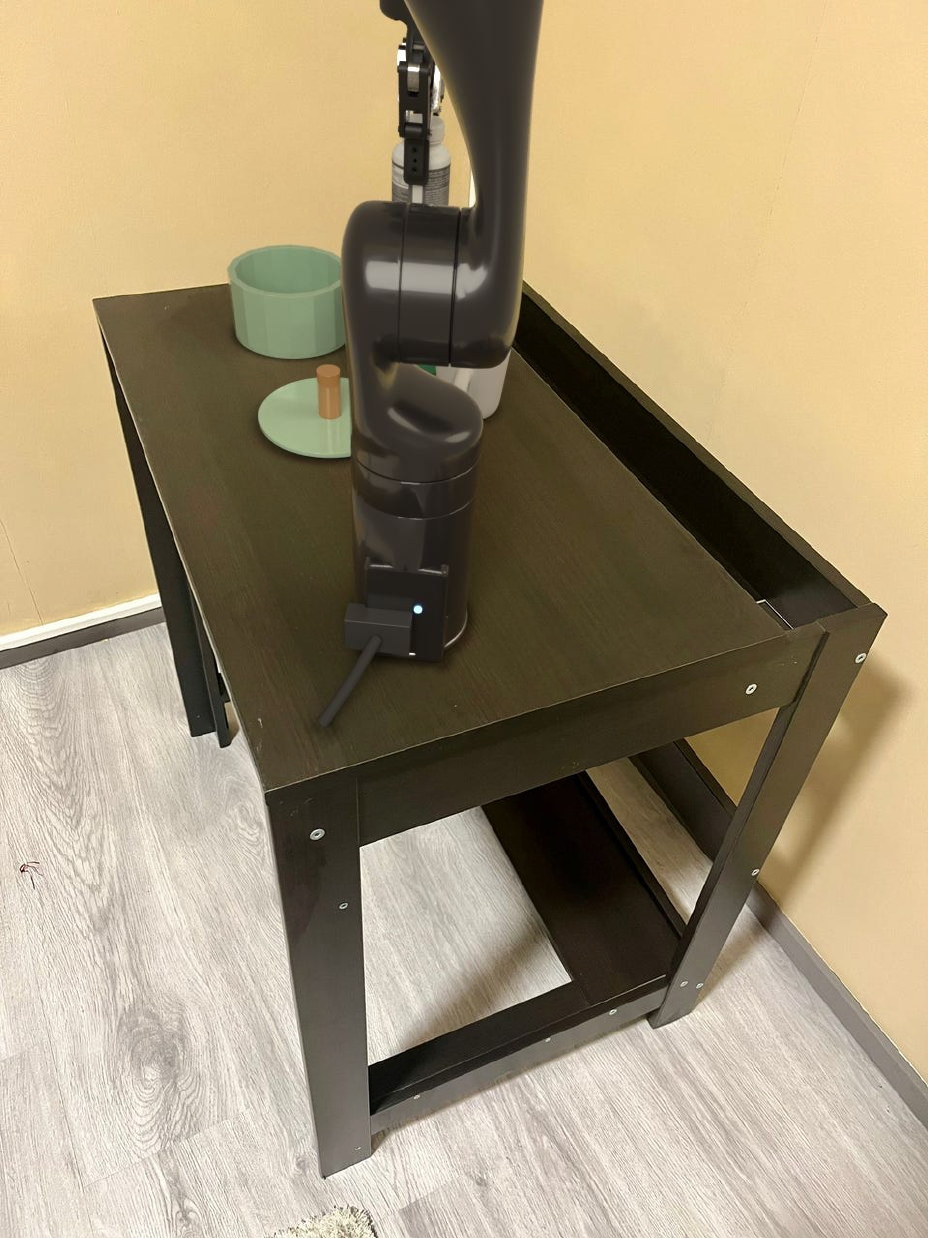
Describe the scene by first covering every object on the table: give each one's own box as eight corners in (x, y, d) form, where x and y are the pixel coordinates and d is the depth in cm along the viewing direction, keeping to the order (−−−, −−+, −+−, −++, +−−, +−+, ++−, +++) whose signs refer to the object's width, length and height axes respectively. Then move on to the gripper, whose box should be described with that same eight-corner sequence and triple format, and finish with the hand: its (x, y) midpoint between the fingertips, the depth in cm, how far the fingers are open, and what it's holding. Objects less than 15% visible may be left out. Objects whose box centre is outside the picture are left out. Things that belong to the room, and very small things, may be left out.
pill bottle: (446, 221, 89) (452, 112, 82) (447, 244, 85) (453, 132, 78) (391, 218, 89) (393, 108, 82) (389, 241, 85) (390, 128, 78)
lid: (390, 470, 90) (391, 417, 86) (242, 454, 90) (236, 401, 86) (409, 393, 101) (410, 342, 96) (277, 379, 101) (272, 328, 96)
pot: (340, 364, 104) (338, 302, 99) (221, 352, 104) (213, 289, 99) (359, 310, 114) (358, 250, 108) (251, 299, 114) (245, 239, 109)
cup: (492, 449, 94) (499, 380, 88) (417, 436, 95) (420, 367, 89) (509, 396, 101) (517, 330, 96) (440, 385, 102) (443, 318, 97)
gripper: (466, -33, 66) (452, 205, 78) (481, -65, 76) (467, 149, 88) (364, -43, 66) (366, 196, 78) (393, -74, 76) (391, 142, 88)
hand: (420, 170), depth 83 cm, fingers closed on pill bottle, 5 cm apart
